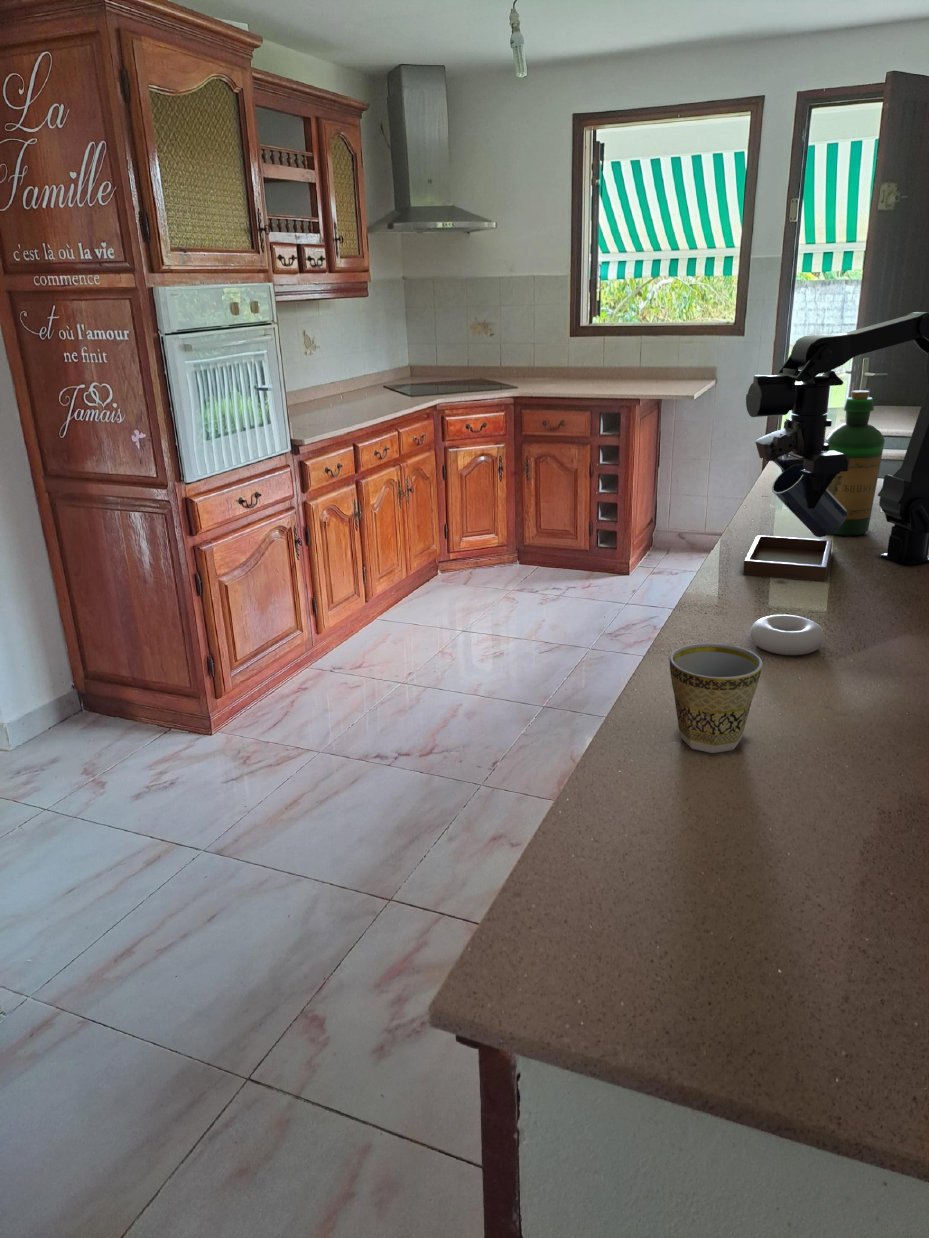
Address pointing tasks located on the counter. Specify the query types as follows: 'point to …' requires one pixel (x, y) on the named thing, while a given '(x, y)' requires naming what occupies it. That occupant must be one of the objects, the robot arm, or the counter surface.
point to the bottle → (856, 463)
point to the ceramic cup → (713, 693)
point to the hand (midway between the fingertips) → (800, 503)
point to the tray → (788, 558)
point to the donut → (787, 634)
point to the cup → (794, 497)
